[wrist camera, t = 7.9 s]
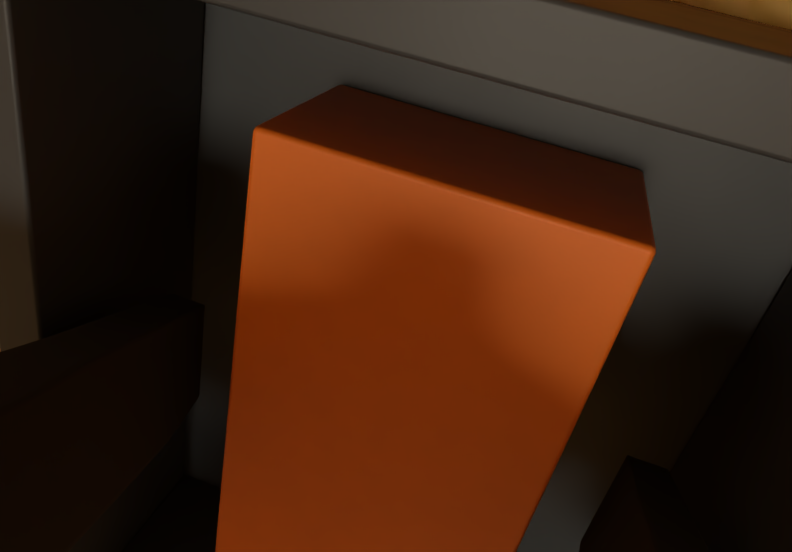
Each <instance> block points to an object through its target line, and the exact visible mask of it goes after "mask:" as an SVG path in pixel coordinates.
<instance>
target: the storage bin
mask: <svg viewBox="0 0 792 552" xmlns="http://www.w3.org/2000/svg"><path fill="white" fill-rule="evenodd" d="M338 85H344V86H348V87H351V88H355V89H358V90H361V91H365V92H368V93H372V94H375V95H379V96H382V97H386V98H389V99H393V100H396V101H400V102H403V103H407V104H410V105H414V106H417V107H421V108H424V109H428V110H431V111H435V112H438V113H442V114H445V115H449V116H452V117H456V118H459V119H463V120H466V121H470V122H473V123H477V124H480V125H484V126H487V127H491V128H494V129H498V130H501V131H505V132H508V133H512V134H515V135H519V136H522V137H526V138H529V139H533V140H536V141H540V142H543V143H547V144H550V145H554V146H557V147H561V148H564V149H568V150H571V151H575V152H578V153H582V154H585V155H589V156H592V157H596V158H599V159H603V160H606V161H610V162H613V163H617V164H620V165H624V166H627V167H631V168H634V169H638V170H640V171H641V172H643V176H644V182H645V188H646V194H647V199H648V205H649V211H650V217H651V223H652V229H653V234H654V240H655V246H656V254H655V256H654V258H653V261H652V263H651V265H650V267H649V269H648V271H647V273H646V275H645V278H644V280H643V282H642V284H641V286H640V288H639V290H638V293H637V295H636V297H635V299H634V301H633V303H632V305H631V307H630V310H629V312H628V314H627V316H626V318H625V320H624V322H623V325H622V327H621V329H620V331H619V333H618V335H617V337H616V340H615V342H614V344H613V346H612V348H611V350H610V352H609V354H608V357H607V359H606V361H605V363H604V365H603V367H602V369H601V372H600V374H599V376H598V378H597V380H596V382H595V384H594V386H593V389H592V391H591V393H590V395H589V397H588V399H587V401H586V404H585V406H584V408H583V410H582V412H581V414H580V416H579V419H578V421H577V423H576V425H575V427H574V429H573V431H572V433H571V436H570V438H569V440H568V442H567V444H566V446H565V448H564V451H563V453H562V455H561V457H560V459H559V461H558V463H557V466H556V468H555V470H554V472H553V474H552V476H551V478H550V480H549V483H548V485H547V487H546V489H545V491H544V493H543V495H542V498H541V500H540V502H539V504H538V506H537V508H536V510H535V512H534V515H533V517H532V519H531V521H530V523H529V525H528V527H527V530H526V532H525V534H524V536H523V538H522V540H521V542H520V545H519V547H518V549H517V551H516V552H579V550H580V543H581V540H582V538H583V536H584V534H585V532H586V530H587V528H588V527H589V525H590V523H591V521H592V519H593V517H594V516H595V514H596V512H597V510H598V508H599V506H600V504H601V503H602V501H603V499H604V497H605V495H606V493H607V492H608V490H609V488H610V486H611V484H612V482H613V481H614V479H615V477H616V475H617V473H618V471H619V469H620V468H621V466H622V464H623V462H624V460H625V458H626V457H627V455H629V456H631V457H634V458H637V459H640V460H643V461H645V462H648V463H651V464H654V465H657V466H659V467H662V468H665V469H668V471H669V473H670V475H671V477H672V479H673V481H674V483H675V485H676V487H677V489H678V491H679V493H680V495H681V497H682V499H683V501H684V503H685V505H686V507H687V509H688V511H689V512H690V514H691V516H692V518H693V520H694V522H695V524H696V526H697V528H698V530H699V532H700V534H701V536H702V538H703V540H704V542H705V544H706V546H707V548H708V550H709V552H792V30H788V29H784V28H780V27H776V26H772V25H768V24H764V23H760V22H755V21H751V20H747V19H743V18H739V17H735V16H731V15H727V14H723V13H718V12H714V11H710V10H706V9H702V8H698V7H694V6H690V5H686V4H682V3H677V2H673V1H669V0H0V350H1V352H2V351H5V350H8V349H11V348H15V347H18V346H21V345H24V344H27V343H31V342H34V341H37V340H40V339H43V338H46V337H49V336H52V335H55V334H58V333H61V332H64V331H67V330H69V329H72V328H75V327H78V326H81V325H84V324H87V323H89V322H92V321H95V320H98V319H101V318H104V317H106V316H109V315H112V314H115V313H117V312H120V311H123V310H126V309H129V308H131V307H134V306H137V305H140V304H143V303H146V302H148V301H151V300H154V299H157V298H160V297H164V296H167V295H171V294H175V295H178V296H181V297H184V298H187V299H190V300H192V301H195V302H198V303H201V304H204V305H205V311H204V328H203V345H202V361H201V378H200V395H199V397H198V399H197V400H196V402H195V403H194V405H193V406H192V408H191V409H190V411H189V412H188V414H187V415H186V417H185V418H184V420H183V421H182V423H181V424H180V425H179V427H178V428H177V429H176V431H175V432H174V434H173V435H172V436H171V438H170V439H169V440H168V442H167V443H166V444H165V446H164V447H163V448H162V449H161V450H160V451H159V452H158V454H157V455H156V456H155V457H154V458H153V459H152V460H151V461H150V462H149V464H148V465H147V466H146V467H145V468H144V469H143V470H142V471H141V472H140V474H139V475H138V476H137V477H136V478H135V479H134V480H133V481H132V482H131V483H130V485H129V486H128V487H127V488H126V489H125V490H124V491H123V492H122V493H121V494H120V495H119V497H118V498H117V499H116V500H115V501H114V502H113V503H112V504H111V505H110V506H109V507H108V509H107V510H106V511H105V512H104V513H103V514H102V515H101V516H100V517H99V518H98V519H97V521H96V522H95V523H94V524H93V525H92V526H91V527H90V528H89V529H88V530H87V531H86V533H85V534H84V535H83V536H82V537H81V538H80V539H79V540H78V541H77V542H76V543H75V545H74V546H73V547H72V548H71V549H70V550H69V551H68V552H215V548H216V537H217V526H218V515H219V504H220V493H221V482H222V471H223V460H224V449H225V437H226V426H227V415H228V404H229V393H230V382H231V371H232V360H233V349H234V338H235V327H236V315H237V304H238V293H239V282H240V271H241V260H242V249H243V238H244V227H245V216H246V204H247V193H248V182H249V171H250V160H251V149H252V138H253V131H254V129H255V127H256V126H258V125H260V124H262V123H264V122H266V121H268V120H270V119H272V118H274V117H276V116H278V115H280V114H282V113H284V112H286V111H288V110H290V109H292V108H294V107H296V106H298V105H300V104H302V103H304V102H306V101H308V100H310V99H312V98H314V97H316V96H318V95H320V94H322V93H324V92H326V91H328V90H330V89H332V88H334V87H336V86H338Z"/></svg>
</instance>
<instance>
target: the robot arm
mask: <svg viewBox="0 0 792 552" xmlns="http://www.w3.org/2000/svg"><path fill="white" fill-rule="evenodd" d="M204 311H205V305H204V304H201V303H198V302H195V301H192V300H190V299H187V298H184V297H181V296H178V295H175V294H171V295H167V296H164V297H160V298H157V299H154V300H151V301H148V302H146V303H143V304H140V305H137V306H134V307H131V308H129V309H126V310H123V311H120V312H117V313H115V314H112V315H109V316H106V317H104V318H101V319H98V320H95V321H92V322H89V323H87V324H84V325H81V326H78V327H75V328H72V329H69V330H67V331H64V332H61V333H58V334H55V335H52V336H49V337H46V338H43V339H40V340H37V341H34V342H31V343H27V344H24V345H21V346H18V347H15V348H11V349H8V350H5V351H2V352H0V552H68V551H69V550H70V549H71V548H72V547H73V546H74V545H75V543H76V542H77V541H78V540H79V539H80V538H81V537H82V536H83V535H84V534H85V533H86V531H87V530H88V529H89V528H90V527H91V526H92V525H93V524H94V523H95V522H96V521H97V519H98V518H99V517H100V516H101V515H102V514H103V513H104V512H105V511H106V510H107V509H108V507H109V506H110V505H111V504H112V503H113V502H114V501H115V500H116V499H117V498H118V497H119V495H120V494H121V493H122V492H123V491H124V490H125V489H126V488H127V487H128V486H129V485H130V483H131V482H132V481H133V480H134V479H135V478H136V477H137V476H138V475H139V474H140V472H141V471H142V470H143V469H144V468H145V467H146V466H147V465H148V464H149V462H150V461H151V460H152V459H153V458H154V457H155V456H156V455H157V454H158V452H159V451H160V450H161V449H162V448H163V447H164V446H165V444H166V443H167V442H168V440H169V439H170V438H171V436H172V435H173V434H174V432H175V431H176V429H177V428H178V427H179V425H180V424H181V423H182V421H183V420H184V418H185V417H186V415H187V414H188V412H189V411H190V409H191V408H192V406H193V405H194V403H195V402H196V400H197V399H198V397H199V395H200V378H201V361H202V345H203V328H204ZM579 552H709V550H708V548H707V546H706V544H705V542H704V540H703V538H702V536H701V534H700V532H699V530H698V528H697V526H696V524H695V522H694V520H693V518H692V516H691V514H690V512H689V511H688V509H687V507H686V505H685V503H684V501H683V499H682V497H681V495H680V493H679V491H678V489H677V487H676V485H675V483H674V481H673V479H672V477H671V475H670V473H669V471H668V469H665V468H662V467H659V466H657V465H654V464H651V463H648V462H645V461H643V460H640V459H637V458H634V457H631V456H629V455H627V457H626V458H625V460H624V462H623V464H622V466H621V468H620V469H619V471H618V473H617V475H616V477H615V479H614V481H613V482H612V484H611V486H610V488H609V490H608V492H607V493H606V495H605V497H604V499H603V501H602V503H601V504H600V506H599V508H598V510H597V512H596V514H595V516H594V517H593V519H592V521H591V523H590V525H589V527H588V528H587V530H586V532H585V534H584V536H583V538H582V540H581V543H580V550H579Z"/></svg>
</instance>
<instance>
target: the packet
mask: <svg viewBox="0 0 792 552" xmlns="http://www.w3.org/2000/svg"><path fill="white" fill-rule="evenodd" d="M655 254H656V246H655V240H654V234H653V229H652V223H651V217H650V211H649V205H648V199H647V194H646V188H645V182H644V176H643V172H641V171H640V170H638V169H634V168H631V167H627V166H624V165H620V164H617V163H613V162H610V161H606V160H603V159H599V158H596V157H592V156H589V155H585V154H582V153H578V152H575V151H571V150H568V149H564V148H561V147H557V146H554V145H550V144H547V143H543V142H540V141H536V140H533V139H529V138H526V137H522V136H519V135H515V134H512V133H508V132H505V131H501V130H498V129H494V128H491V127H487V126H484V125H480V124H477V123H473V122H470V121H466V120H463V119H459V118H456V117H452V116H449V115H445V114H442V113H438V112H435V111H431V110H428V109H424V108H421V107H417V106H414V105H410V104H407V103H403V102H400V101H396V100H393V99H389V98H386V97H382V96H379V95H375V94H372V93H368V92H365V91H361V90H358V89H355V88H351V87H348V86H344V85H338V86H336V87H334V88H332V89H330V90H328V91H326V92H324V93H322V94H320V95H318V96H316V97H314V98H312V99H310V100H308V101H306V102H304V103H302V104H300V105H298V106H296V107H294V108H292V109H290V110H288V111H286V112H284V113H282V114H280V115H278V116H276V117H274V118H272V119H270V120H268V121H266V122H264V123H262V124H260V125H258V126H256V127H255V129H254V131H253V138H252V149H251V160H250V171H249V182H248V193H247V204H246V216H245V227H244V238H243V249H242V260H241V271H240V282H239V293H238V304H237V315H236V327H235V338H234V349H233V360H232V371H231V382H230V393H229V404H228V415H227V426H226V437H225V449H224V460H223V471H222V482H221V493H220V504H219V515H218V526H217V537H216V548H215V552H516V551H517V549H518V547H519V545H520V542H521V540H522V538H523V536H524V534H525V532H526V530H527V527H528V525H529V523H530V521H531V519H532V517H533V515H534V512H535V510H536V508H537V506H538V504H539V502H540V500H541V498H542V495H543V493H544V491H545V489H546V487H547V485H548V483H549V480H550V478H551V476H552V474H553V472H554V470H555V468H556V466H557V463H558V461H559V459H560V457H561V455H562V453H563V451H564V448H565V446H566V444H567V442H568V440H569V438H570V436H571V433H572V431H573V429H574V427H575V425H576V423H577V421H578V419H579V416H580V414H581V412H582V410H583V408H584V406H585V404H586V401H587V399H588V397H589V395H590V393H591V391H592V389H593V386H594V384H595V382H596V380H597V378H598V376H599V374H600V372H601V369H602V367H603V365H604V363H605V361H606V359H607V357H608V354H609V352H610V350H611V348H612V346H613V344H614V342H615V340H616V337H617V335H618V333H619V331H620V329H621V327H622V325H623V322H624V320H625V318H626V316H627V314H628V312H629V310H630V307H631V305H632V303H633V301H634V299H635V297H636V295H637V293H638V290H639V288H640V286H641V284H642V282H643V280H644V278H645V275H646V273H647V271H648V269H649V267H650V265H651V263H652V261H653V258H654V256H655Z"/></svg>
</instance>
